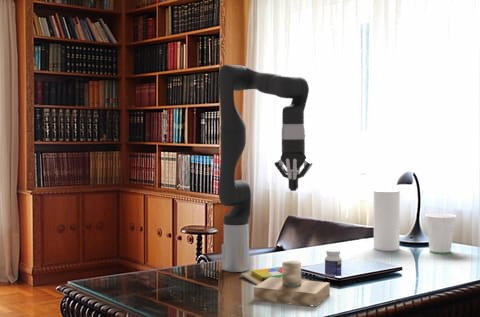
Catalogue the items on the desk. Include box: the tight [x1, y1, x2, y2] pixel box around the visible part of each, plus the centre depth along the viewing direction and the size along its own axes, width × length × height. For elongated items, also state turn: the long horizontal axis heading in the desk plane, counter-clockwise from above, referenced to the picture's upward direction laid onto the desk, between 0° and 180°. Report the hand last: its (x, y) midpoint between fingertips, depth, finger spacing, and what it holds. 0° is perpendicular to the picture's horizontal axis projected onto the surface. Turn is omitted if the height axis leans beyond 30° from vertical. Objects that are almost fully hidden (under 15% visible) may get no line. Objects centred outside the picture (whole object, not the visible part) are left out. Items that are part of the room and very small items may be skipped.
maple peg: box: [281, 260, 302, 287], centre depth 201 cm, size 6×6×10 cm
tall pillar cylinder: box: [373, 188, 401, 252], centre depth 276 cm, size 11×11×25 cm
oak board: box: [253, 277, 331, 306], centre depth 201 cm, size 20×14×4 cm
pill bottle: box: [324, 249, 342, 277], centre depth 225 cm, size 6×6×10 cm
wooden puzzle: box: [240, 266, 310, 286], centre depth 224 cm, size 18×19×4 cm
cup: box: [424, 212, 457, 255], centre depth 268 cm, size 12×12×15 cm
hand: (293, 190), depth 213 cm, fingers closed
